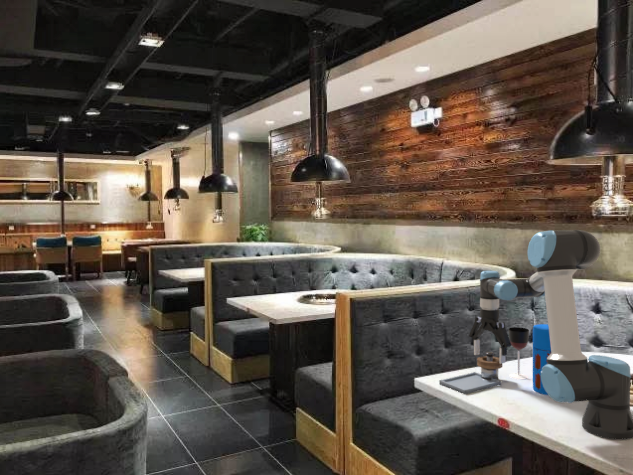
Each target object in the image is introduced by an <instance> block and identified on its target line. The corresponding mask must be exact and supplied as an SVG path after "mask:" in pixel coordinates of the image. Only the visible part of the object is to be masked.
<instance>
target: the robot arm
mask: <svg viewBox="0 0 633 475" xmlns="http://www.w3.org/2000/svg"><path fill="white" fill-rule="evenodd" d="M600 254H601V245H600V242H599V240H598V239H597V237H596V236H595V235H594V234H592V233H591V232H588V231H587V230H580V229H574V230H572V229H571V230H566V229H565V230H561V229H560V230H552V229H551V230H545V231H539V232H536V233H535V234H534V235H533V236H532V237H531V239H530V241H529V243H528V247H527V258H528V262H529V264H530V265H531V266H532V267H533V268H535V269H536V272H535V273H533V274H531V275H530V276H529V277H526V278H507V279H506V278H501V277H500V272H499V271H498V270H483V271H481V272H480V279H479V291H480V298H479V307H480V309H479V316H476V317H475V318H474V322H473V325H472V327H471V330H470V332H469V334H468V337H469V338H472V346H473V355H474V356H478V355H481V339H480V337H481V335H483V333H484V332H485V331H488V332H491V333H492V334H494V337H495V338H496V340H497V342H498V344H499V345H500V346H499V351H498V352H499V357H498V358H499V363H500V364H502V365H503V364H505V363H507V362H506V358H507V357H506V356H507V355H508V348H510V347H512V345H511V342H510V340H509V333H508V332H507V329H506V324H505V323H506V322H504V321H502V322H499V318H500V309H499V308H500V300H502V301H512V300H514V299H521V298H542V297H545V298H544V299H545V307H546V308H545V309H546V316H547V324H548V326H549V335H550V344H551V354H550V355H549V356H548V357H547V365H545V366H543V368H542V371H541V381H542V384H543V387H544V389H545V391H546V392H547V393H548V395H547V396H549V397H550V399H551V400H553V401H554V402H558V403H569V404H570V403H571V404H572V403H574V402H575V403H577V402H588V404H587V405H586V408H585V411H584V412H583V415H582V420H581V426H582V429H584V430H585V431H586V432H587V433H590V434H592V435H594V436H597V437H600V438H605V439H609V440H617V441H619V440H620V441H621V440H622V441H623V440H630V439H633V414H632V410H631V380H632V379H631V378H632V375H631V367H630V365H629V363H627V362H626V361H624V360H621V359H618V358H617V357H616V358H615V357H612V356H611V357H610V356H605V355H600V354H591V355H589V356H588V357H587V356H586V355H585V354H584V353H583V352H582V348H581V340H580V333H579V331H580V330H579V324H578V316H577V315H578V314H577V308H576V298H575V290H574V283H573V282H574V281H573V275H575V273H576V272H577V271H578V270H580V271H582V270H585V269H587V268H589V267H591V266H592V265H594V263H595V262H596V261H597V260H599V257H600Z"/></svg>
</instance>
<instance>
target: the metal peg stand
mask: <svg viewBox="0 0 633 475" xmlns="http://www.w3.org/2000/svg"><path fill="white" fill-rule="evenodd" d="M494 354H495V353H494V352H492V351H485V356H487V361H489V362H493V357H494V356H495V355H494ZM480 374H481V378H482V379H485V380H491V378H494V379H496V380H499V369H486V368H481V367H480ZM499 381H500V380H499Z"/></svg>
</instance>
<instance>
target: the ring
mask: <svg viewBox="0 0 633 475" xmlns="http://www.w3.org/2000/svg"><path fill="white" fill-rule="evenodd" d="M476 360H477V361H476V364H477V367H479V368H480V369H481V368H486V369H498V370H499V369H501V368H503V363H502V364H500V363H499V357H498V356H497V357H496V356H493V362H489V361H487V355H484V356H479V357H476Z"/></svg>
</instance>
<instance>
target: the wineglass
mask: <svg viewBox="0 0 633 475" xmlns="http://www.w3.org/2000/svg"><path fill="white" fill-rule="evenodd" d="M508 337H509V340H510V342H511V347H513V348H514V349H515V350H517V373H510V374H509V375H508V376H509V378H511V379H516V380H527V379H529V376H528V375H526V374H523V373H520V372H521V371H520V366H521V365H520V364H521V358H520V354H521V353H520V351H521V350H523V349H525V348H526V347H527V346H528V344H529V343H528V342H529V337H530V330H529V329H528V328H526V327H525V328H524V327H520V326H519V327H518V326H517V327H516V326H514V327H513V326H512V327H509V328H508Z"/></svg>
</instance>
